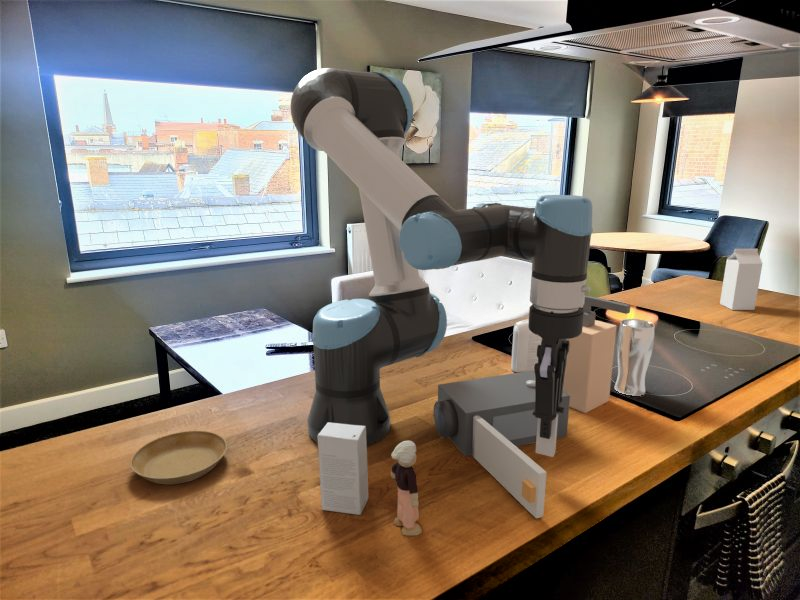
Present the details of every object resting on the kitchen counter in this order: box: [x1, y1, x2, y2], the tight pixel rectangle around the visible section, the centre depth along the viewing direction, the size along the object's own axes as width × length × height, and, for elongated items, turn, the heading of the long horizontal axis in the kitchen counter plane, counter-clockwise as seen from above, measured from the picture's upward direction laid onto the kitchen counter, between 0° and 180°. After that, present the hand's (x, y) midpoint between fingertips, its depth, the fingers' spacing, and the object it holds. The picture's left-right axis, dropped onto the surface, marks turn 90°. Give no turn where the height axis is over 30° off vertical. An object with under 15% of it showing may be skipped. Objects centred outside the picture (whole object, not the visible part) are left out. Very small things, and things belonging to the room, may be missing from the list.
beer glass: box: [614, 318, 656, 397], centre depth 116 cm, size 7×7×15 cm
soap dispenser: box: [563, 295, 631, 414], centre depth 109 cm, size 13×9×22 cm
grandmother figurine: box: [390, 440, 423, 537], centre depth 75 cm, size 8×4×13 cm, turn 35°
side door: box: [471, 415, 547, 519], centre depth 84 cm, size 18×2×7 cm, turn 23°
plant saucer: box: [130, 430, 228, 485], centre depth 91 cm, size 15×15×3 cm
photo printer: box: [510, 318, 542, 373], centre depth 127 cm, size 10×4×12 cm, turn 98°
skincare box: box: [317, 422, 369, 516], centre depth 79 cm, size 6×4×12 cm
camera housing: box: [433, 371, 570, 457], centre depth 100 cm, size 22×12×9 cm, turn 109°
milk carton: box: [719, 248, 763, 311], centre depth 175 cm, size 7×7×19 cm
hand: (545, 452), depth 85 cm, fingers closed
